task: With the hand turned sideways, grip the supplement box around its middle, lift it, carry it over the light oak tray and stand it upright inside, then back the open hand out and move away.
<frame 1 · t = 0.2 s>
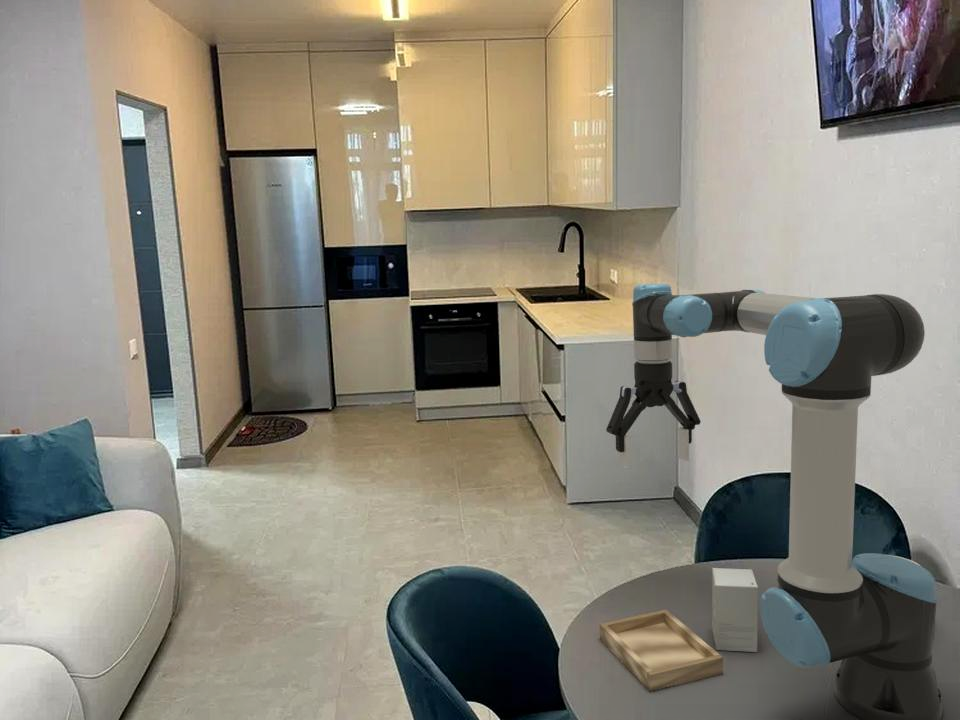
hand: (654, 463, 161), 27 cm above the table, tool pointing down, fingers open, 13 cm apart
tray: (658, 655, 140), on the table
plastic cup: (885, 622, 148), on the table
supplement box: (733, 642, 143), on the table
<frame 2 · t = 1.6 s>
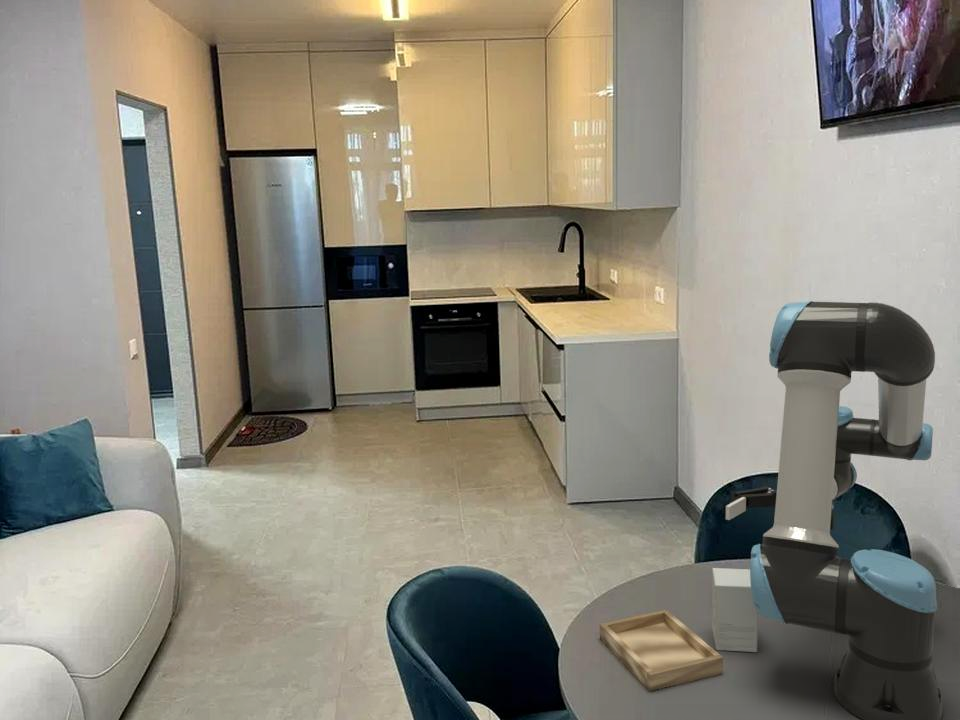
hand: (760, 521, 146), 20 cm above the table, tool horizontal, fingers open, 13 cm apart
nothing on the table moved.
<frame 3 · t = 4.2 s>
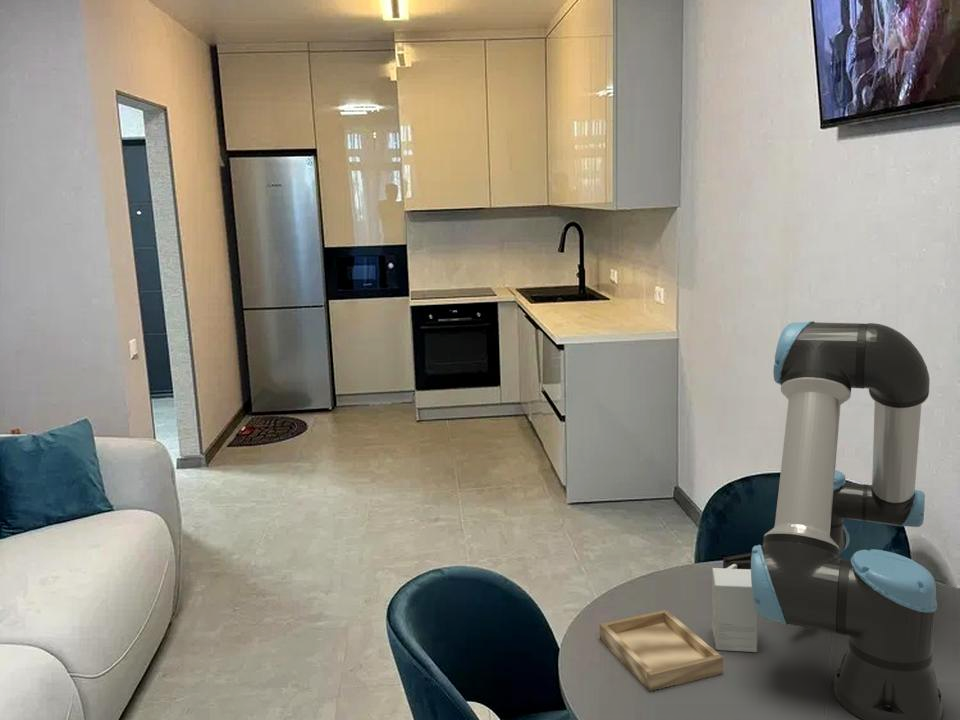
hand: (750, 592, 147), 7 cm above the table, tool horizontal, fingers open, 13 cm apart
nothing on the table moved.
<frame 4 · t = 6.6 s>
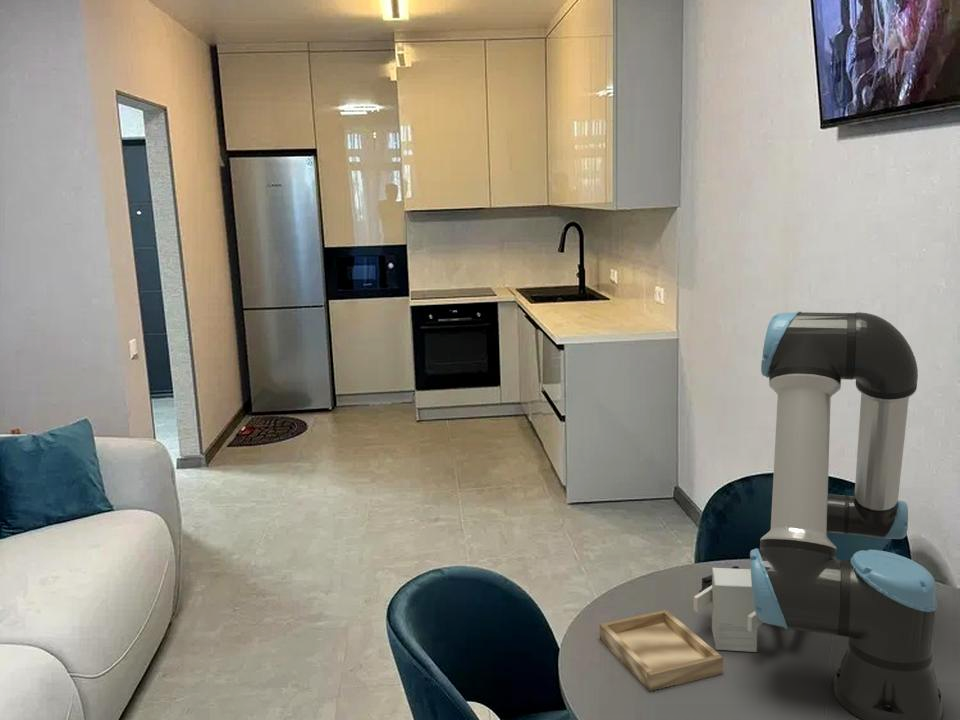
hand: (721, 613, 139), 7 cm above the table, tool horizontal, fingers closed on supplement box, 10 cm apart
supplement box: (733, 642, 143), on the table, touching gripper
everything else where it was.
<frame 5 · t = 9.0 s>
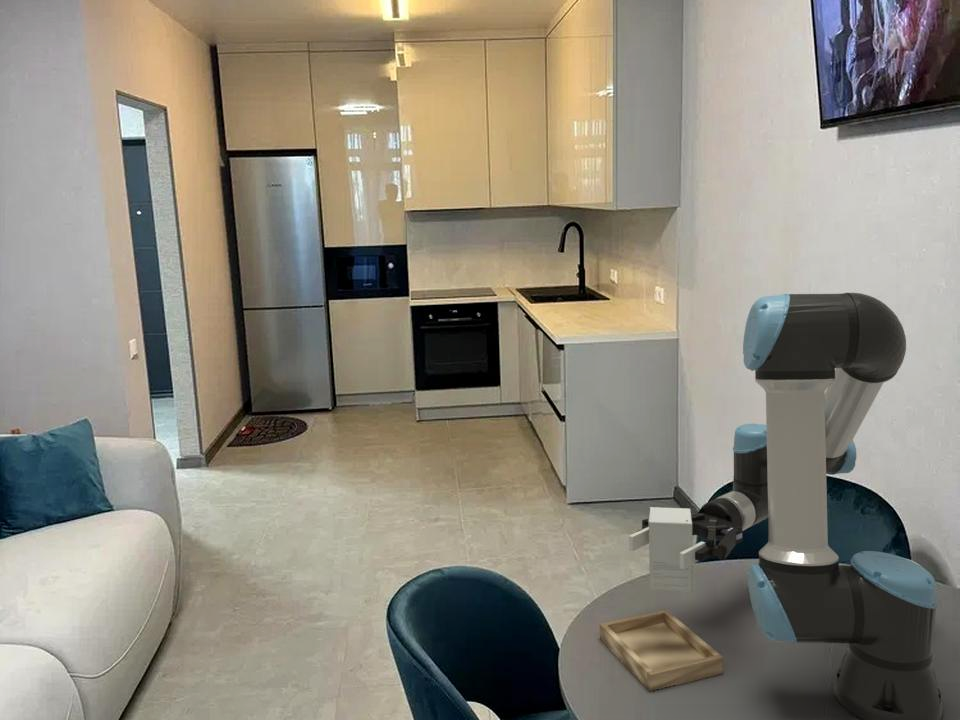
hand: (655, 552, 135), 20 cm above the table, tool horizontal, fingers closed on supplement box, 10 cm apart
supplement box: (670, 582, 139), point 13 cm above the table, touching gripper
everything else where it was.
when the fingers open (9 cm above the table, at t = 11.8 s): supplement box drops 1 cm, resting on tray.
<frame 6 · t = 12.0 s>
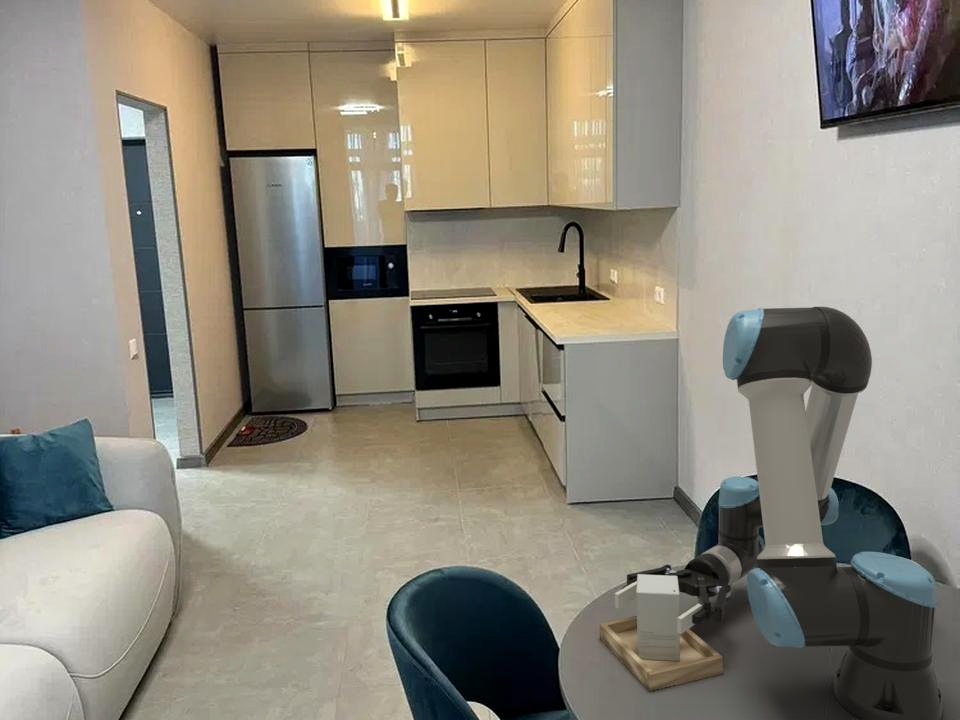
hand: (646, 613, 135), 10 cm above the table, tool horizontal, fingers open, 12 cm apart
supplement box: (658, 650, 140), point 1 cm above the table, touching tray
everything else where it was.
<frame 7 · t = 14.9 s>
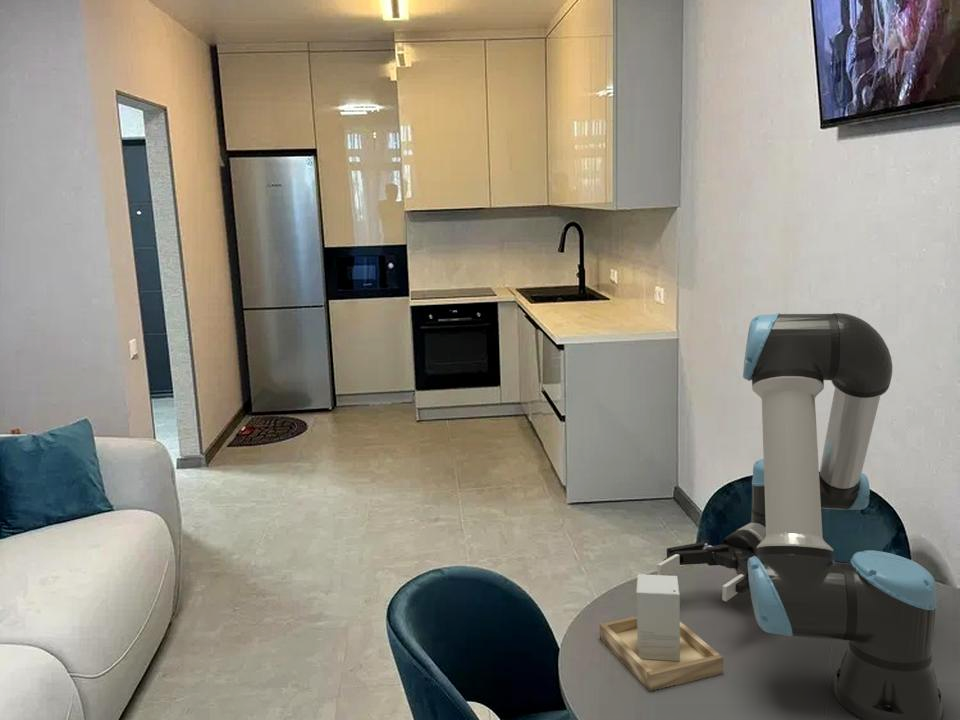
hand: (690, 582, 145), 10 cm above the table, tool horizontal, fingers open, 13 cm apart
nothing on the table moved.
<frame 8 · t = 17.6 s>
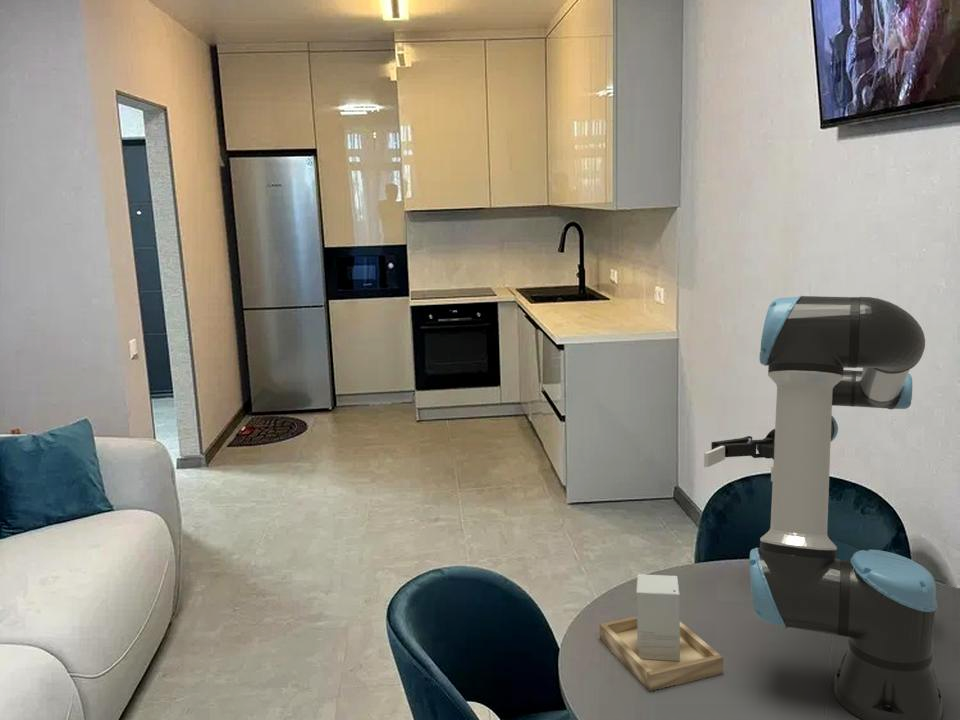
hand: (738, 467, 147), 30 cm above the table, tool horizontal, fingers open, 13 cm apart
nothing on the table moved.
at the end: supplement box inside the target area on the tray (0.2 cm from its centre), point 0.8 cm above the tray's base; supplement box tilted 0°; the gripper is holding nothing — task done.
